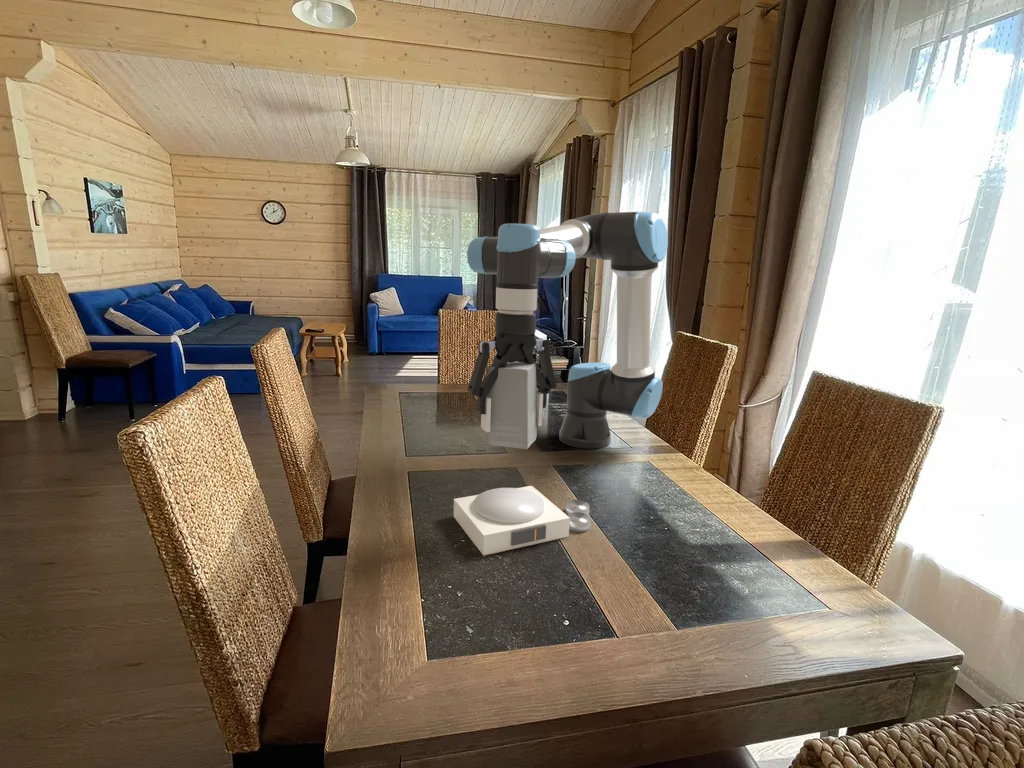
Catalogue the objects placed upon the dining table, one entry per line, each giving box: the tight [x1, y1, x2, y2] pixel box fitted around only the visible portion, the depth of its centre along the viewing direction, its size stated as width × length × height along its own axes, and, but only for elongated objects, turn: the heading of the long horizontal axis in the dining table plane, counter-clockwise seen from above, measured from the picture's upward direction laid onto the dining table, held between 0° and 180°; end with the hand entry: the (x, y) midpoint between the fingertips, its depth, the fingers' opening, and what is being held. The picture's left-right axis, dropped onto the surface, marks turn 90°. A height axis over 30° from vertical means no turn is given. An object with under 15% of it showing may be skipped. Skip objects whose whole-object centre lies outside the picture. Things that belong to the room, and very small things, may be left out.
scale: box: [453, 485, 570, 556], centre depth 109 cm, size 18×17×5 cm
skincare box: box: [485, 361, 538, 450], centre depth 104 cm, size 8×7×16 cm
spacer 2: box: [566, 512, 592, 533], centre depth 110 cm, size 5×5×2 cm
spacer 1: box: [565, 499, 591, 516], centre depth 116 cm, size 5×5×2 cm
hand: (511, 427), depth 105 cm, fingers closed on skincare box, 10 cm apart
